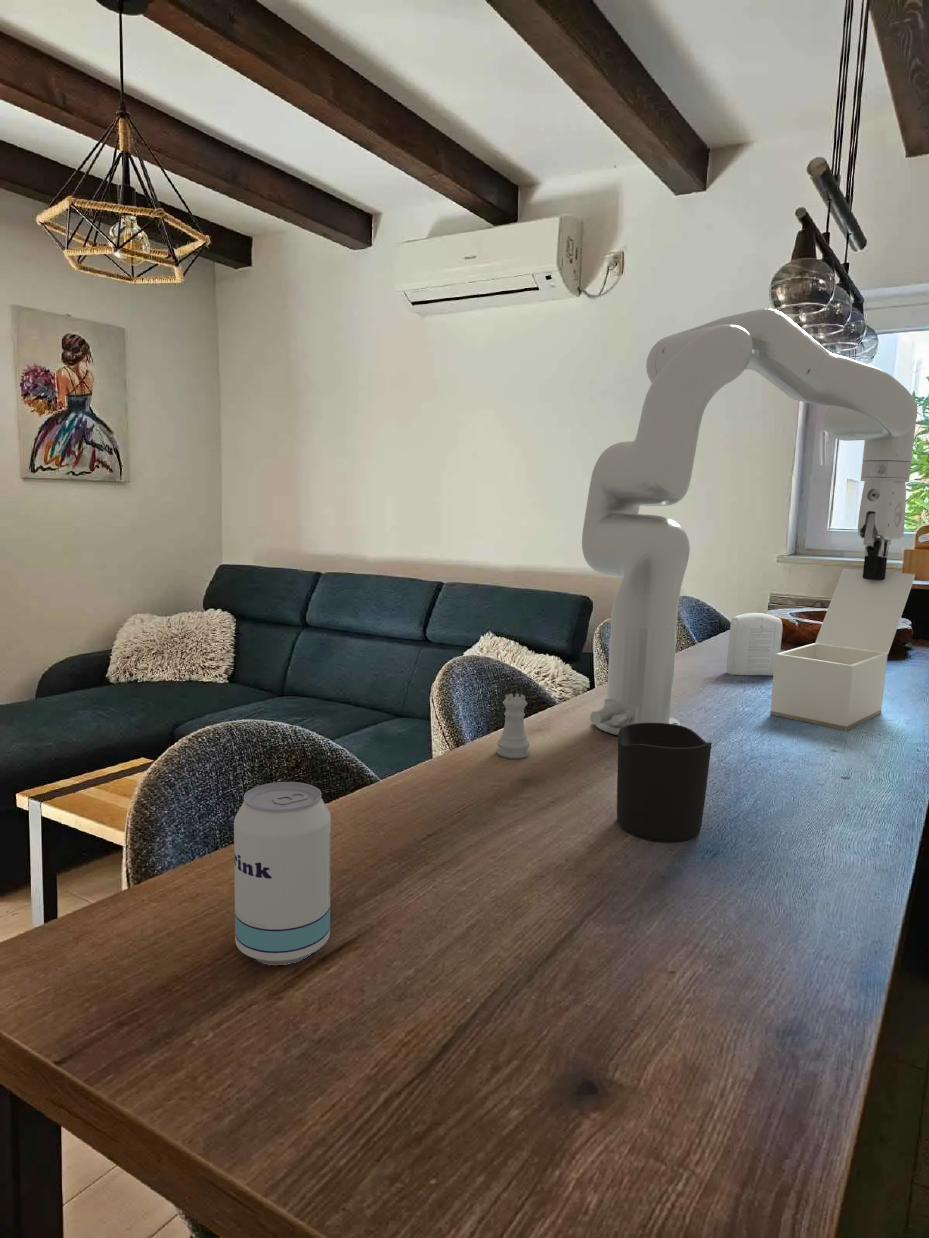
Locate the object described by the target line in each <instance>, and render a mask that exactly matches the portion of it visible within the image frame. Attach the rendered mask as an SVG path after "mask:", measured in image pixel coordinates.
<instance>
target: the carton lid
mask: <svg viewBox="0 0 929 1238" xmlns="http://www.w3.org/2000/svg"><path fill="white" fill-rule="evenodd" d="M915 575H916V574H914V573H906V572H905V573H904V572H892V571H886V573H885V579H884V580H869V579H863V569H854V568H843V569H842V571H841V573H840V576H839V579H838V581H837V585H836V587H835V590H834V592H833V595H832V597H831V600H830V603H829V606H828V608H827V609H826V613H825V616H824V619H823V621H822V624H821V626H820V629H819V631H818V633H817V637H816V639H815V643H817V644H824V645H831V646H838V647H845V648H852V649H859V650H866V651H872V652H879V653H886V654H888V655H889V653H890V650H891V647H892V644H893V642H894V638H895V636H896V633H897V630H898V627H899V623H900V622H901V618H902V615H903V612H904V610H905V607H906V604H907V601H908V598H909V595H910V592H911V590H912V586H913V583H914V581H915V577H916V576H915Z"/></svg>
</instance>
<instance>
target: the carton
mask: <svg viewBox="0 0 929 1238" xmlns="http://www.w3.org/2000/svg"><path fill="white" fill-rule="evenodd" d="M888 655H889V653H888V654H886V653H879V652H872V651H866V650H859V649H852V648H845V647H838V646H831V645H824V644H817V643H816V642H814V643H810V644H805V645H803V646H798V647H796V648H791V649H788V650H786V651H785V650H784V651H780V653H777V654H775V665H774V676H773V678H772V679H773V680H772V689H771V701H770V715H771V716H777V717H781V718H786V719H791V720H795V721H800V722H805V723H810V724H814V725H820V726H825V727H828V728H834V729H838V730H843V731H848V730H850V729H852V728H854V727H857V726H858V725H859V724H862V723H864V722H866V721H868V720H869V719H871V718H874V717H875V716H877V715H880V714H882V709H883V700H884V692H885V691H884V690H885V680H886V673H887V663H888Z"/></svg>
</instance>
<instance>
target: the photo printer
mask: <svg viewBox="0 0 929 1238" xmlns="http://www.w3.org/2000/svg"><path fill="white" fill-rule="evenodd" d="M729 626H730V627H729V637H728V645H727V646H728V647H727V648H728V649H727V658H726V659H727V660H726V673H727V674H728V675H732V676H768V677H769V676H771V677H772V676H773V677H774V665H775V654H777V653H781V646H782V637H783V629H784V628H783V622H782V619H781V618H780V617H778V616H776V615H772V614H768V613H763V612H748V613H743V614H739V615H735V616H734V617H732V619H731V621H730V625H729Z"/></svg>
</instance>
